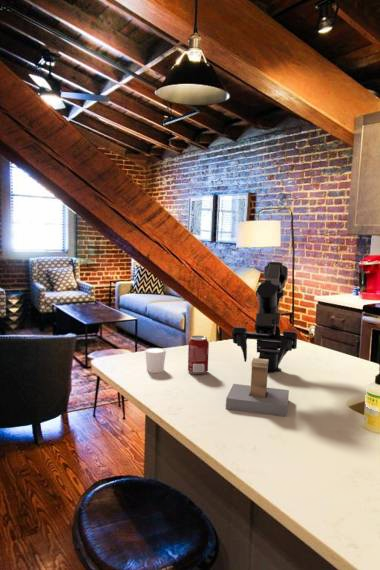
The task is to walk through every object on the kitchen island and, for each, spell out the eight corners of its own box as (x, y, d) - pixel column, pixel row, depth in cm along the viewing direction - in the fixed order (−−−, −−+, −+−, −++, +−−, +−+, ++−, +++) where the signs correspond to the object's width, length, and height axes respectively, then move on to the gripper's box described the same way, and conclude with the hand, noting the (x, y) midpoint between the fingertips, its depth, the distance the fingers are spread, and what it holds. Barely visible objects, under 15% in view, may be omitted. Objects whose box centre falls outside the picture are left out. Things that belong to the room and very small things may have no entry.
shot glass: (168, 368, 156) (168, 348, 155) (160, 374, 150) (161, 353, 149) (150, 366, 158) (150, 346, 157) (141, 371, 152) (142, 351, 151)
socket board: (233, 393, 134) (233, 383, 134) (288, 400, 130) (288, 390, 130) (225, 408, 123) (226, 398, 122) (286, 416, 119) (286, 405, 118)
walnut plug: (251, 400, 129) (253, 357, 128) (266, 402, 128) (268, 359, 126) (249, 406, 125) (251, 362, 124) (264, 408, 124) (267, 363, 122)
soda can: (205, 376, 149) (207, 340, 148) (185, 374, 151) (186, 339, 149) (209, 370, 156) (210, 335, 154) (189, 368, 157) (190, 334, 156)
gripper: (234, 299, 134) (226, 344, 125) (299, 304, 130) (295, 351, 121) (237, 321, 143) (229, 364, 134) (298, 325, 138) (294, 371, 129)
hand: (261, 362), depth 129 cm, fingers open, 9 cm apart
